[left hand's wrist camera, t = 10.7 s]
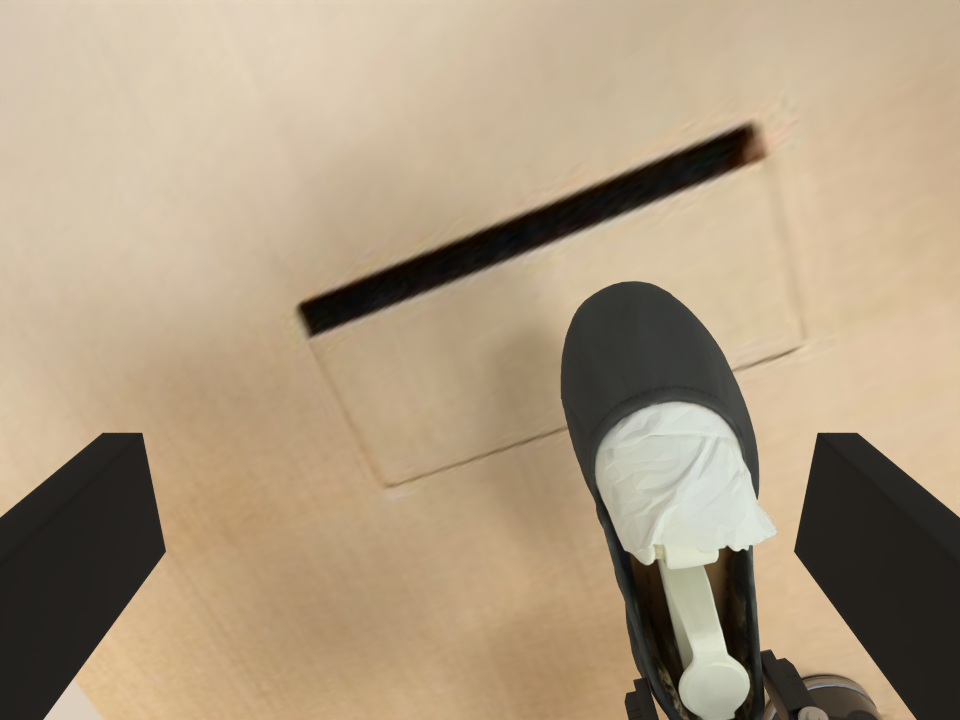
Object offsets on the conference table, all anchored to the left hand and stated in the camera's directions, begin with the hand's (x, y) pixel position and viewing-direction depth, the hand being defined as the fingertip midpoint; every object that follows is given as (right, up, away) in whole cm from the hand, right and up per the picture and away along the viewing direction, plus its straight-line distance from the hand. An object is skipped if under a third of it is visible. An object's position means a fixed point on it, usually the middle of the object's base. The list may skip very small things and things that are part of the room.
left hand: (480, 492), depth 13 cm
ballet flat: (+10, -4, +21) cm, 23 cm away
